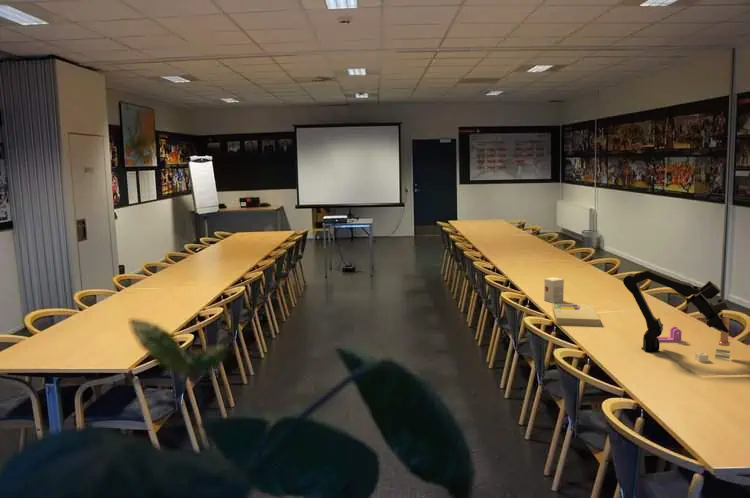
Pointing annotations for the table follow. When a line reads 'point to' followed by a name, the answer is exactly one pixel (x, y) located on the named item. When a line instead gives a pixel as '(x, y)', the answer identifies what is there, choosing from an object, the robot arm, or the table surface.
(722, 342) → the pawn
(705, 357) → the die
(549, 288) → the supplement box
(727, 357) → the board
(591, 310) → the puzzle box
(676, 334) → the bracket
